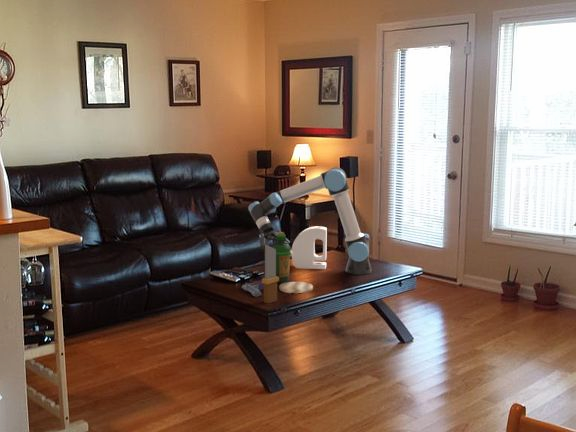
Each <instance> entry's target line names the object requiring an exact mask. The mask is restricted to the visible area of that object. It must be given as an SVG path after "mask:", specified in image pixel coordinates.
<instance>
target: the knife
mask: <svg viewBox="0 0 576 432" xmlns="http://www.w3.org/2000/svg"><path fill="white" fill-rule="evenodd" d="M264 244H265V243H264ZM272 247H273V246H270V245H269V244H268V245H266V244H265V251H264V277H263V278H261V281H262V283H264V289H263V303H265V304H271V303H274V302H277V301H278V283H277V281H279V277H277V276H276V249H274V248H272Z"/></svg>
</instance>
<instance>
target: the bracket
mask: <svg viewBox="0 0 576 432" xmlns="http://www.w3.org/2000/svg"><path fill="white" fill-rule="evenodd" d="M327 229H328V228H327V227H325V226H321V225H320V226H318V225H316V226H310V227H308V228H305V229H304V230H302V231H301V232H300V233H298V235H297V236H296V238H295V239H294V241H293V243H292V246H291V251H292V253H293V254H292V255H291V256H290V257H291V260H292V263H293V265H294V267H295V268H296V269H310V270H326V268H327V262H325V261H326V260H327V249H328V248H327V244H328V243H327V241H328V240H327V238H328V237H327V236H328V235H327V234H328V231H327ZM316 240H321V241H322V255H318V254H316V249H315V248H316V247H315V246H316V245H315V242H316ZM321 261H322V262H321Z"/></svg>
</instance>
